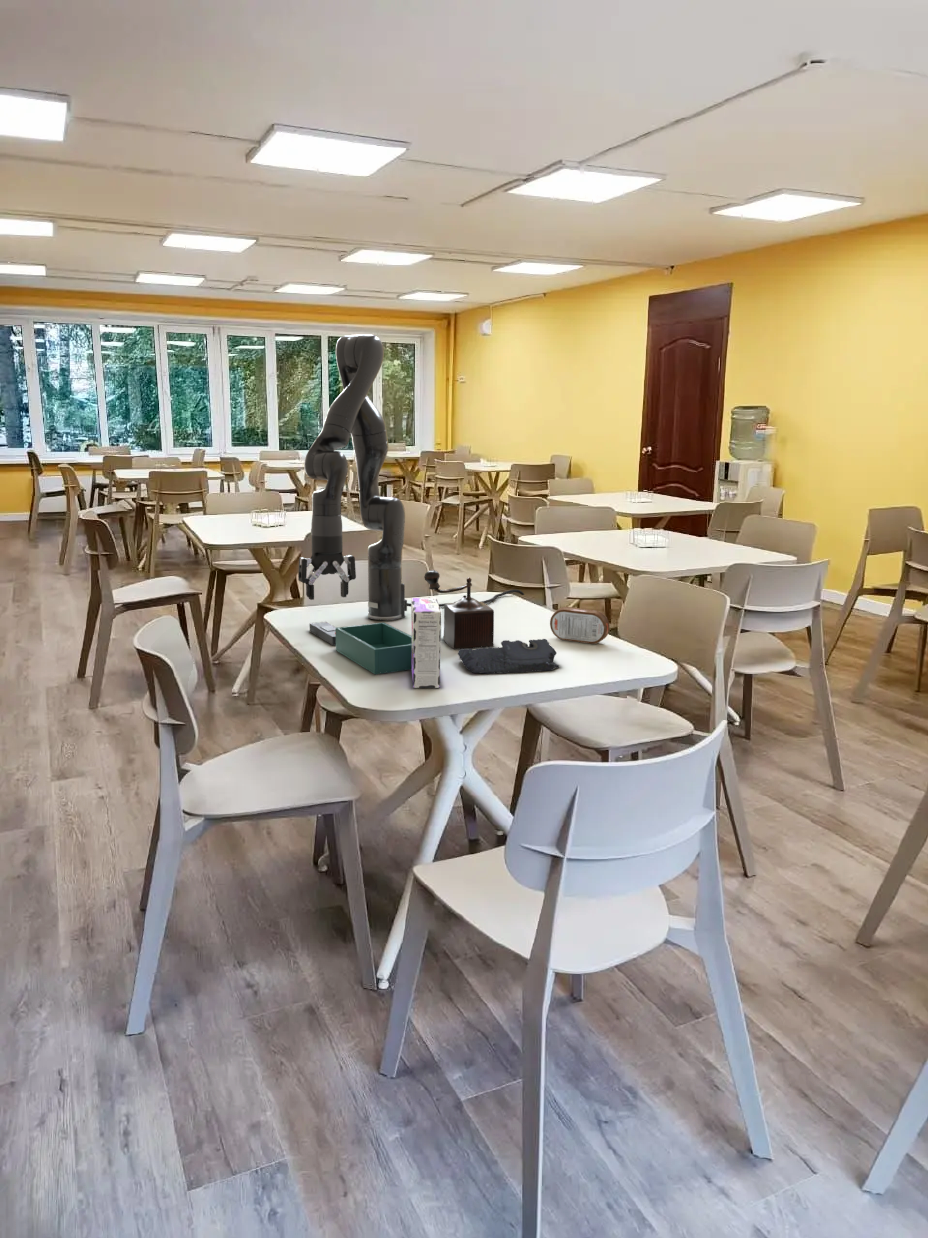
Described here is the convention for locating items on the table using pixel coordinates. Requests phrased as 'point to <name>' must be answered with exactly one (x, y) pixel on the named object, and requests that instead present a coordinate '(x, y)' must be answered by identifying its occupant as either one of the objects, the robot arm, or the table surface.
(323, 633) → the remote
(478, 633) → the manual coffee grinder
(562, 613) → the tin
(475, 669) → the dark slate chunk
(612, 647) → the table surface
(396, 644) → the bin
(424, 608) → the candy box
